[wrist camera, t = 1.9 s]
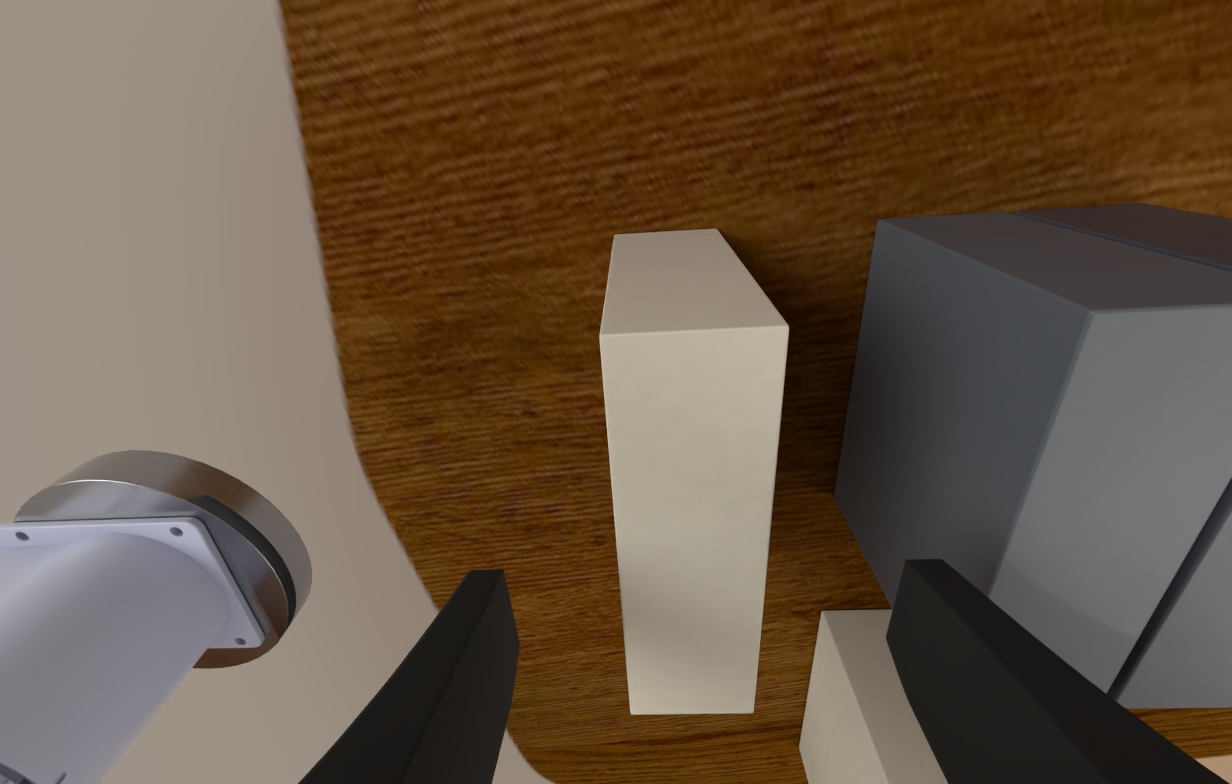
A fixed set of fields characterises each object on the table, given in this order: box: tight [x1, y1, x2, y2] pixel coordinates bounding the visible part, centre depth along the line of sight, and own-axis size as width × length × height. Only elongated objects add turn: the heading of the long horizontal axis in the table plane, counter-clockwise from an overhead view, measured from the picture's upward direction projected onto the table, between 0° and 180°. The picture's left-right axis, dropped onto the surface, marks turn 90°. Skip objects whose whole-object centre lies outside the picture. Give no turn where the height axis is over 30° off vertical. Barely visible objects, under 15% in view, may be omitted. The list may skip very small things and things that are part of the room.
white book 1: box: [599, 229, 789, 715], centre depth 14 cm, size 3×10×8 cm, turn 4°
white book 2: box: [799, 609, 948, 784], centre depth 21 cm, size 3×10×8 cm, turn 4°
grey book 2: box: [1013, 204, 1232, 709], centre depth 14 cm, size 4×10×8 cm, turn 4°
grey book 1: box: [834, 212, 1232, 693], centre depth 14 cm, size 4×10×8 cm, turn 4°
